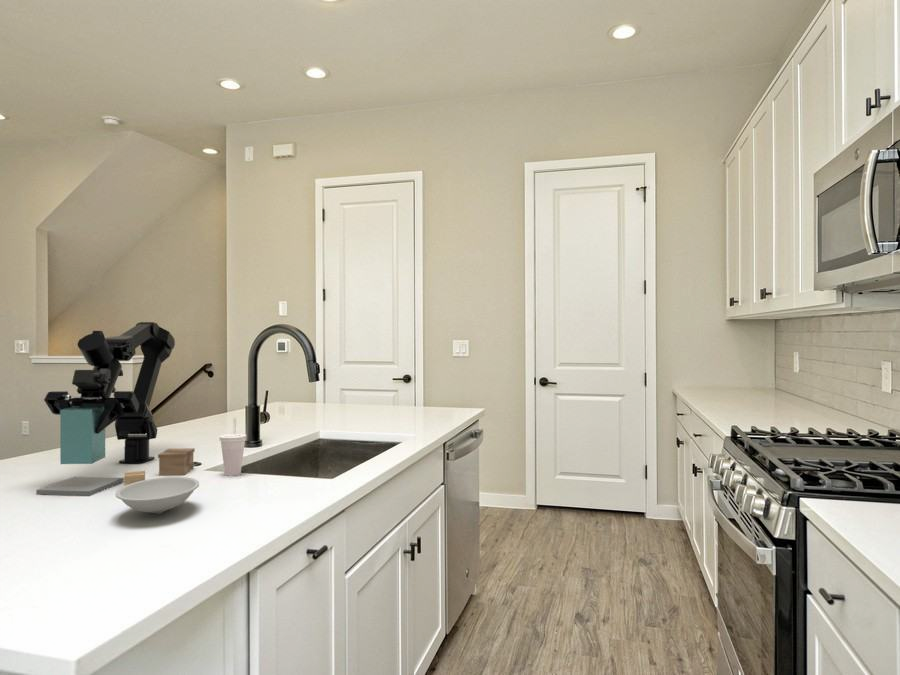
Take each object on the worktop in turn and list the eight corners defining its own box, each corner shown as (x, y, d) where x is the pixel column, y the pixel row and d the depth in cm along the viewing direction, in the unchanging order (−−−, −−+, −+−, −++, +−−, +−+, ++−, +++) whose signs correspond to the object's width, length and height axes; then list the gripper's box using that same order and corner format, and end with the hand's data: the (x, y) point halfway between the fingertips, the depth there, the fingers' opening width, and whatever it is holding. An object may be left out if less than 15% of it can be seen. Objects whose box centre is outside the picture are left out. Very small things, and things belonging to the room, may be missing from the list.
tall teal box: (75, 457, 136) (75, 405, 136) (105, 457, 137) (105, 405, 137) (60, 464, 130) (60, 409, 130) (92, 463, 131) (92, 409, 131)
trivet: (74, 480, 140) (74, 476, 140) (123, 482, 139) (123, 477, 139) (36, 494, 128) (36, 489, 128) (89, 495, 127) (89, 491, 127)
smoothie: (251, 472, 150) (252, 417, 149) (232, 478, 144) (233, 420, 144) (232, 470, 152) (233, 415, 152) (213, 475, 146) (213, 419, 146)
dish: (137, 501, 124) (137, 477, 124) (208, 499, 126) (209, 475, 126) (99, 528, 106) (99, 501, 106) (183, 525, 108) (183, 498, 108)
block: (125, 489, 133) (125, 472, 133) (145, 488, 135) (145, 470, 135) (124, 494, 129) (124, 476, 129) (144, 492, 131) (144, 474, 131)
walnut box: (168, 468, 153) (168, 448, 153) (194, 468, 154) (194, 448, 154) (157, 475, 146) (158, 454, 146) (185, 475, 147) (185, 454, 147)
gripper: (48, 356, 136) (20, 411, 125) (134, 356, 138) (113, 410, 128) (66, 387, 144) (40, 441, 133) (147, 387, 146) (128, 439, 136)
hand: (80, 432), depth 132 cm, fingers closed on tall teal box, 6 cm apart
